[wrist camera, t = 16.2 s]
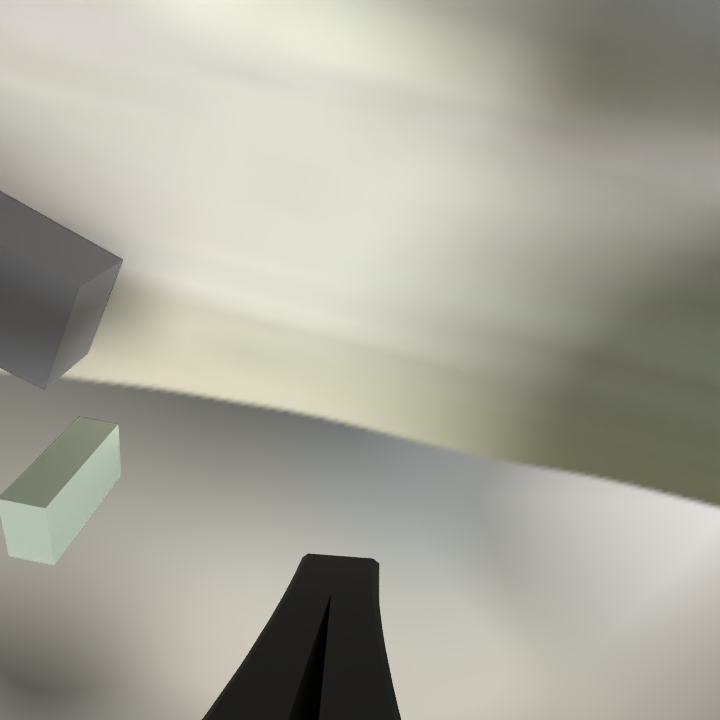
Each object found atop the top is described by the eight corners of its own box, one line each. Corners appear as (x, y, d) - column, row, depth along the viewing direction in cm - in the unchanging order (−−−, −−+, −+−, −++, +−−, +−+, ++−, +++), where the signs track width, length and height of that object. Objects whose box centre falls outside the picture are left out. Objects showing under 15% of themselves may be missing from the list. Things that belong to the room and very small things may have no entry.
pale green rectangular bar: (74, -357, 11) (-116, -586, 7) (121, 475, 22) (53, 565, 18) (2, -370, 11) (-226, -606, 7) (84, 467, 22) (8, 556, 18)
